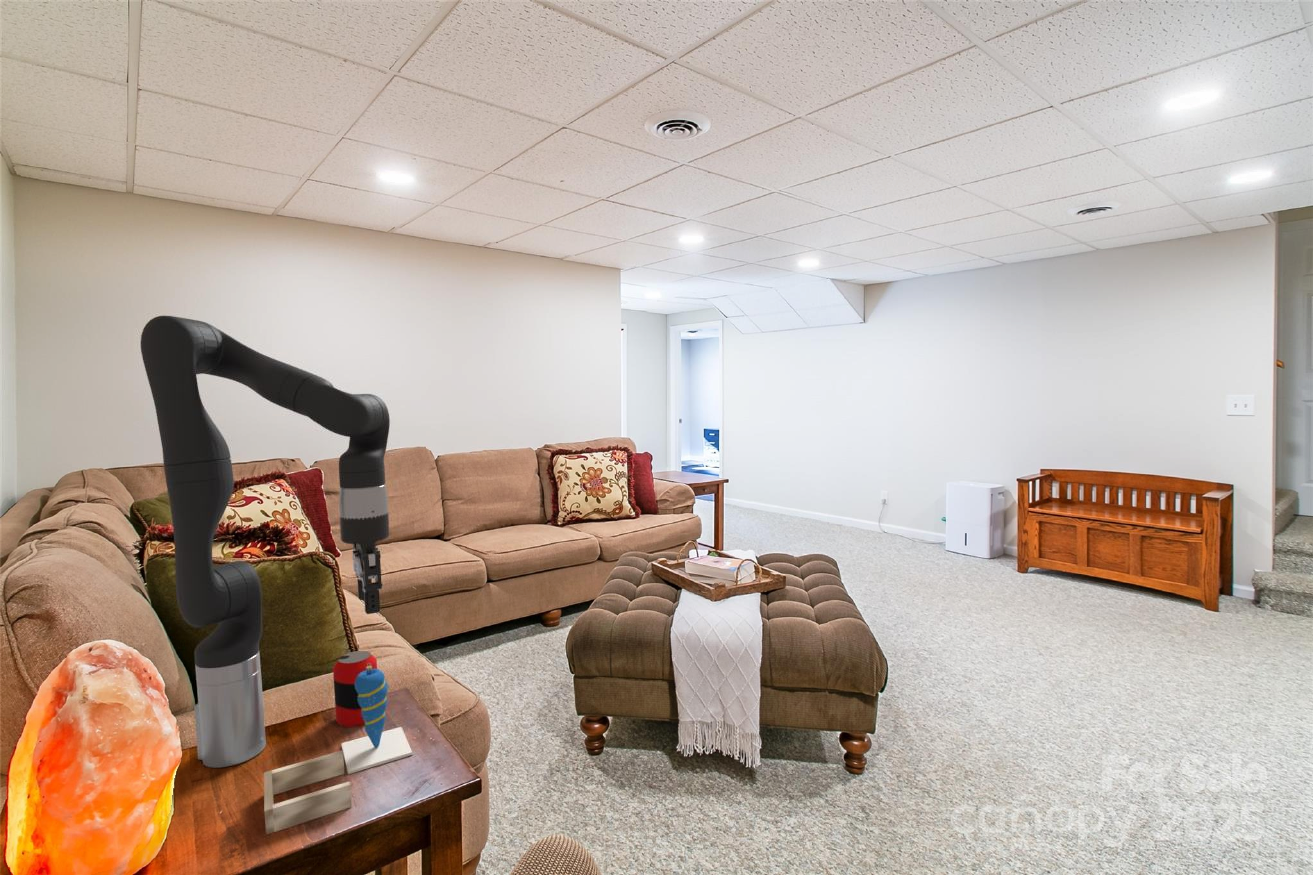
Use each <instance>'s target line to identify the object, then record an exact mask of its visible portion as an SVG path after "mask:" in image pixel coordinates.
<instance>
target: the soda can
mask: <svg viewBox="0 0 1313 875" xmlns="http://www.w3.org/2000/svg"><path fill="white" fill-rule="evenodd" d="M377 661H378V660H377V657H375V656H374V655H373V654H372V653H371V652H370V651H368V650H356V651H351V652H347V653H345V654H343V655H341V656H340V657H338V659H337V661H336V662H335V664H334V665H333V667H332V673H333V674H332V675H333V690H334V691H333V692H334V704H335V705H334V706H335V721H336V723H337V724H338V725H339V726H341V727H346V728H352V727H360V726H362V725H363V726H364V725H365V722H364V720H363V718H362V714H361V711H362V708H361V707H360V705H359V703H358V693H357V691H356V689H355V680H356V678H357V676H358V675H359V674H360V673H361V672H363V671H365V670H366V667H368V666H372V669H378V662H377ZM369 663H370V664H371V665H370V664H369ZM367 665H368V666H367Z"/></svg>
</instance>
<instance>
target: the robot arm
mask: <svg viewBox="0 0 1313 875" xmlns="http://www.w3.org/2000/svg"><path fill="white" fill-rule="evenodd" d="M140 352H141V353H140V354H141V357H142V361H143V366H144V370H145V373H146V377H147V381H148V384H149V387H150V388H149V389H150V391H151V396H152V399H153V404H154V408H155V413H156V414H155V415H156V418H157V424H158V430H159V437H160V443H161V448H162V458H163V459H162V460H163V468H164V469H163V470H164V478H165V484H166V488H167V495H168V499H169V506H170V515H171V520H172V521H171V523H172V528H173V529H172V530H173V540H174V541H173V542H174V560H175V561H174V569H175V570H174V571H175V573H174V574H175V592H176V593H175V594H176V601H177V606H178V609H179V613H180V614H181V617H182V619H183V620H184V621H185V623H187V625H189V626H191V627H192V628H196V629H197V628H198V629H199V628H204V627H209V626H211V625H214V624H217V623H218V625H217V626H216V628H215V629H214V630H212V632H211V633H210V634H209V635H208V636H206V637H205V638H204V639H203V640H201V641H200V642H199V643H198V644H197V645H196V647H195V649H194V665H195V666H194V667H195V677H196V678H195V680H196V689H197V690H196V691H197V703H196V704H195V705H194V709H193V710H194V711H193V712H194V720H195V721H194V723H195V725H194V726H195V735H196V749H197V760H201V761H202V764H203V765H204V766H206V767H208V768H213V769H214V768H226V767H227V768H228V767H231V766H235V765H239V764H242V763H244V762H247V761H248V760H251V759H253V758H254V757H256V756H257V755H259V754H260V753H262V751H264V749H265V747H266V745H267V743H266V742H267V741H266V726H265V711H264V710H265V709H264V696H263V682H262V671H261V668H262V666H261V659H260V658H261V656H260V654H261V653H260V642H261V639H262V635H263V593H262V592H263V591H262V590H263V589H262V583H261V579H260V577H259V574H258V572H257V570H256V569H255V567H254V566H253V565H252V564H250V563H249V562H247V561H243V560H235V561H232V562H231V561H230V562H227V563H223V564H220V565H216V566H214V565H213V564H214V562H213V544H214V538H215V534H216V531H217V529H218V526H219V525H220V522H221V520H222V517H223V516H224V514H225V512H226V509H227V507H228V505H229V503H230V500H231V498H232V496H233V493H234V487H235V478H234V472H233V464H232V459H231V458H232V456H231V451H230V448H229V445H228V443H227V442H226V439H225V437H224V435H223V434H222V432H220V431H221V430H220V429H219V428H218V427H217V425H216V424H215V423H214V421H213V420H212V418H211V416H210V415H209V413H208V411H207V410H206V408H205V405H204V404H203V402H202V398H201V395H200V390H199V385H198V378H197V375H209V376H214V377H219V378H223V379H227V380H231V381H234V382H236V383H239V384H242V385H243V386H246V387H247V388H249V389H251V391H254V393H256V394H258V395H259V396H261V397H262V398H264V399H265V400H267V401H269V402H270V403H272V404H273V405H277V406H279V407H281V408H285V409H286V410H289V411H292V412H294V413H296V414H298V415H301V416H304V417H307V418H309V419H310V420H312V421H313V422H314V423H316V424H317V425H319V426H321V427H322V428H323V429H326V430H328V431H329V432H332V433H334V434H336V435H339V436H343V437H347V438H349V442H348V448H347V449H346V451H344V452H343V453H342V454H340V457H339V459H338V478H339V480H338V481H339V494H338V495H339V496H338V510H339V512H338V513H339V528H340V529H339V532H340V541H341V542H342V543H344V544H346V545H347V544H348V545H353V550H352V552H351V556H352V560H353V564H352V565H353V571H354V572H355V577H356V579H357V580H356V581H357V594H358V595H357V597H358V600H360V601H364V612H365V614H367V615H372V614H377V613H379V612H380V611H381V600H380V599H381V598H380V590H382V588H383V583H382V567H381V565H382V564H381V558H382V556H381V551H380V550H379V548H378V547H377V546H376V543H377V542H381V541H384V540H386V539H388V538H389V536H390V522H389V521H390V520H389V519H390V518H389V501H388V493H387V487H386V471H385V455H386V451H387V446H388V439H389V434H390V426H391V425H390V424H391V423H390V422H391V420H390V414H389V409H388V406H387V405H386V403H385V401H384V400H383V399H382V398H381V397H379V396H378V395H376V394H373V393H350V392H347V391H344V390H341V389H338V388H336V387H334V385H333V383H332V382H331V381H329V380H328V379H326V378H323V377H321V376H319V375H316V374H314V373H311V372H310V371H307V370H304V369H302V368H298V367H297V366H293V365H291V364H289V363H286V362H283V361H280V360H277V359H275V358H273V357H270V356H267V355H265V354H263V353H261V352H259V351H257V350H255V349H253V348H252V347H249V346H248V345H245V344H244V343H242V342H240V341H239V340H237V339H235V338H234V337H232V336H231V335H229V334H227V333H225V332H224V331H222V330H220V329H218V327H215V326H213V325H211V323H208V322H206V321H202V320H197V319H191V318H185V317H179V316H174V315H157V316H155V317H153V318H151V319H150V320H149V321H148V322H147V323H145V326H144V327H143V329H142V332H141V335H140ZM373 579H374V581H375V582H373V581H372V580H373Z"/></svg>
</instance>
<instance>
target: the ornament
mask: <svg viewBox="0 0 1313 875" xmlns="http://www.w3.org/2000/svg"><path fill="white" fill-rule="evenodd" d="M369 664H370V663H369ZM370 665H371V664H370ZM367 666H368V665H367ZM355 689H356V691H357V693H358V703H359V705H360V707H361V708H362V711H361V714H362V718H363V720H364V722H365V724H364V730H365V732H366V734H367V735H366V736H368V737H369V738H370V740H371V742H372V744H373V746H374V747H376V748H377V747H378V746H379V744H380V739H381V735H382V732H384V731H383V730H384V727H385V723H386V718H387V715H386V709H387V705H388V697H387V694H388V692H389V685H388V682H387V680H386V678H385V673H384V672H383V671H382V670H381V669H379V668H377V669H372V666H368V667H366V670H365V671H363V672H361V673H360V674H359V675H358V676H357V678H356V680H355Z"/></svg>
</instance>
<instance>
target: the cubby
mask: <svg viewBox="0 0 1313 875" xmlns="http://www.w3.org/2000/svg"><path fill="white" fill-rule="evenodd" d="M344 763H345V759H344V754H343V750H340V751H335V752H332V753H329V754H328V753H327V754H325V755H321V756H318V757H315V758H311V759H307V760H303V761H299V762H297V763H292V764H290V765H285V766H282V767H279V768H276V769H272V770H269V771H268V770H267V771H264V772H263V783H264V787H263V789H264V790H263V791H264V792H263V794H264V796H263V797H264V799H263V800H264V802H263V803H264V804H263V805H264V808H263V809H264V822H265V835H270V834H272V833H276V832H279V831H281V830H282V831H283V830H286V829H289V828H291V827H294V826H298V825H300V824H304V823H306V822H310V821H312V820H315V819H319V818H321V817H324V816H329V815H332V814H334V813H336V812H340V811H344V810H346V809H349V808H350V809H351V808H352V792H351V781H346V782H343V783H340V784H336V785H334V786H333V785H332V786H330V787H326V788H323V789H319V790H317V791H313V792H310V793H307V794H303V795H299V796H297V797H293V798H290V799H287V800H284V801H281V802H277V803H275V802H274V796H275V795H277V794H282V793H284V792H289V791H291V790H294V789H295V790H296V789H298V788H302V787H305V786H308V785H311V784H314V783H315V784H316V783H318V782H321V781H325V780H328V779H331V778H335V777H338V776H340V775H341V776H342V775H344V774H345V764H344Z"/></svg>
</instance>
